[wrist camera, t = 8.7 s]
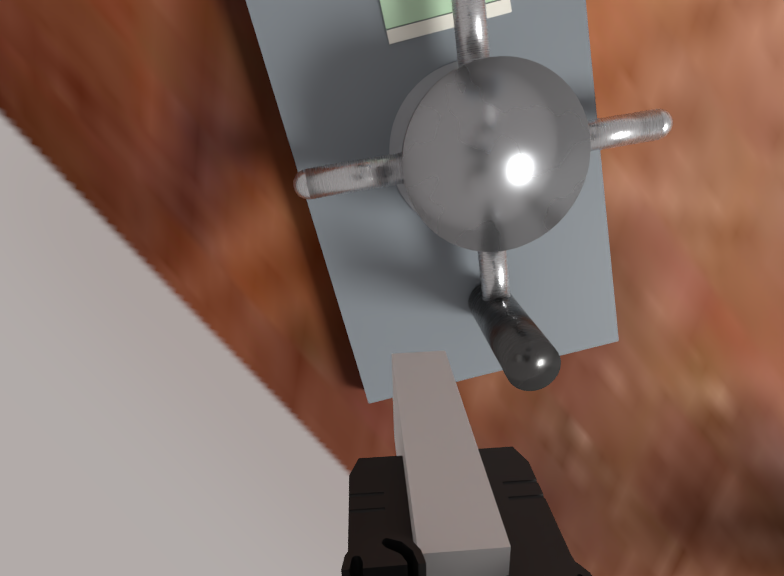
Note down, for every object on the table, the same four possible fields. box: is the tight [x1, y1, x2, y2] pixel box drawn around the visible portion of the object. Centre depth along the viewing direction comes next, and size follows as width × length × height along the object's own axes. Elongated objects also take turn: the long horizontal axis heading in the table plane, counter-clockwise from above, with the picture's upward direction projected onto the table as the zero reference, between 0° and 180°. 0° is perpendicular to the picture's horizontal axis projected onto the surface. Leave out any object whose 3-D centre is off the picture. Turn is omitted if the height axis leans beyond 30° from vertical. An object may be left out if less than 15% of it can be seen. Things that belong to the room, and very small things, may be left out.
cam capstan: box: [293, 0, 673, 391], centre depth 19 cm, size 15×17×7 cm
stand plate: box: [246, 0, 619, 403], centre depth 23 cm, size 20×13×1 cm, turn 14°
